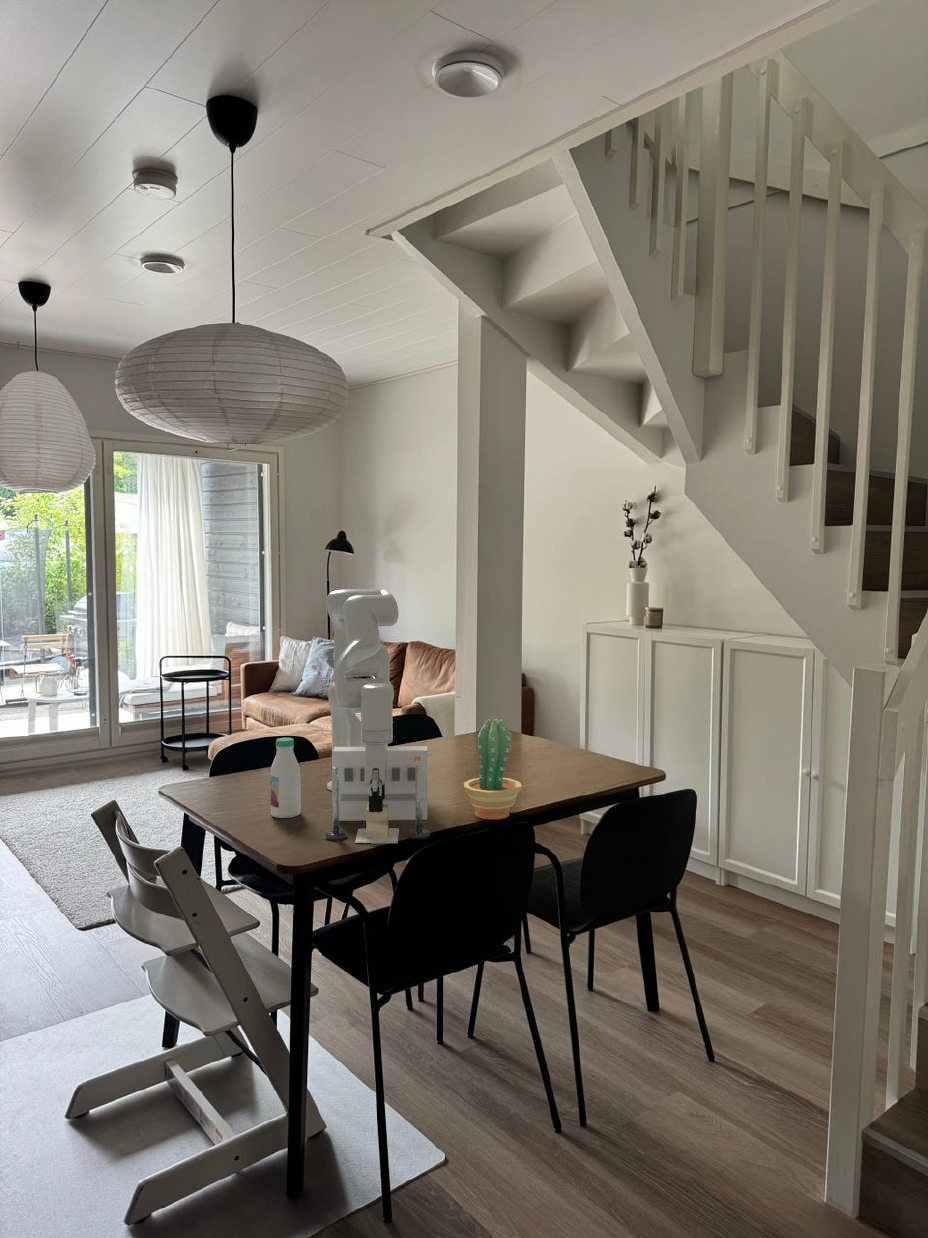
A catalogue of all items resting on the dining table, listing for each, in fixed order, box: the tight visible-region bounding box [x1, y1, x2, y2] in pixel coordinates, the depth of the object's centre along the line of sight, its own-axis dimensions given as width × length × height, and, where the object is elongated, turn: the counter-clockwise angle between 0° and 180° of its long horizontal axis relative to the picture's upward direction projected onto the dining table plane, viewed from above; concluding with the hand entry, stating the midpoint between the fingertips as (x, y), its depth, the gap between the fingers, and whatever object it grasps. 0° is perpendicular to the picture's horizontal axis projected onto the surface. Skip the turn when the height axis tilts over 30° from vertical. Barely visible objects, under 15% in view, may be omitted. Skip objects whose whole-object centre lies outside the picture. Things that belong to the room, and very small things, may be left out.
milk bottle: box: [269, 737, 302, 819], centre depth 224 cm, size 8×8×20 cm
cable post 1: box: [324, 766, 347, 841], centre depth 206 cm, size 5×5×17 cm
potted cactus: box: [463, 718, 523, 820], centre depth 224 cm, size 15×15×25 cm
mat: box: [354, 827, 400, 845], centre depth 207 cm, size 10×10×1 cm
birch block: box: [365, 803, 389, 838], centre depth 207 cm, size 5×5×7 cm
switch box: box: [333, 745, 429, 822], centre depth 222 cm, size 6×24×18 cm, turn 92°
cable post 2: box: [408, 766, 431, 840], centre depth 207 cm, size 5×5×17 cm
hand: (377, 805), depth 207 cm, fingers open, 9 cm apart
